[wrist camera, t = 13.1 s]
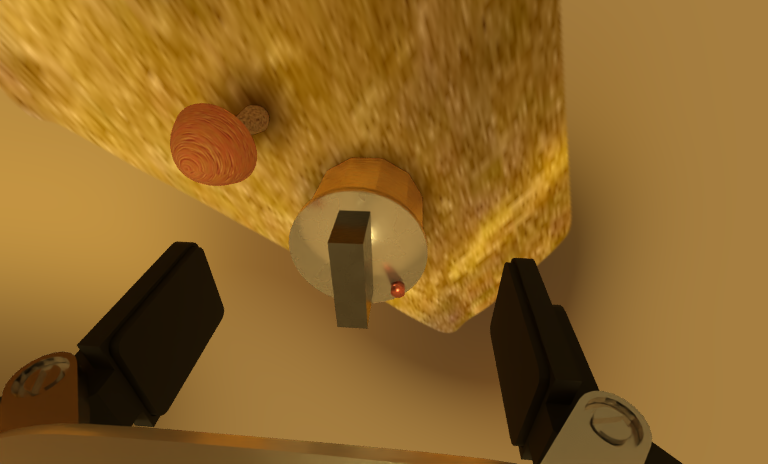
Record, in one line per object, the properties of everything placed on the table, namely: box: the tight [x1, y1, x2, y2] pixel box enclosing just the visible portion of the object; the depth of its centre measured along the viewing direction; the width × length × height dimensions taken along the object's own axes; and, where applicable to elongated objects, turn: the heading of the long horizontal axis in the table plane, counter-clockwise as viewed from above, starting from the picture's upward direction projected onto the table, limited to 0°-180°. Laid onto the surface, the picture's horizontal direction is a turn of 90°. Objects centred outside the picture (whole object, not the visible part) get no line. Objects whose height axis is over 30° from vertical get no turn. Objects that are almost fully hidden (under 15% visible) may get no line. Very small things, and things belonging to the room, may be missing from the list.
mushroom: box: [170, 103, 270, 186], centre depth 37 cm, size 8×8×15 cm
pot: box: [312, 157, 423, 227], centre depth 45 cm, size 14×14×9 cm
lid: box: [289, 187, 427, 329], centre depth 39 cm, size 15×15×8 cm
